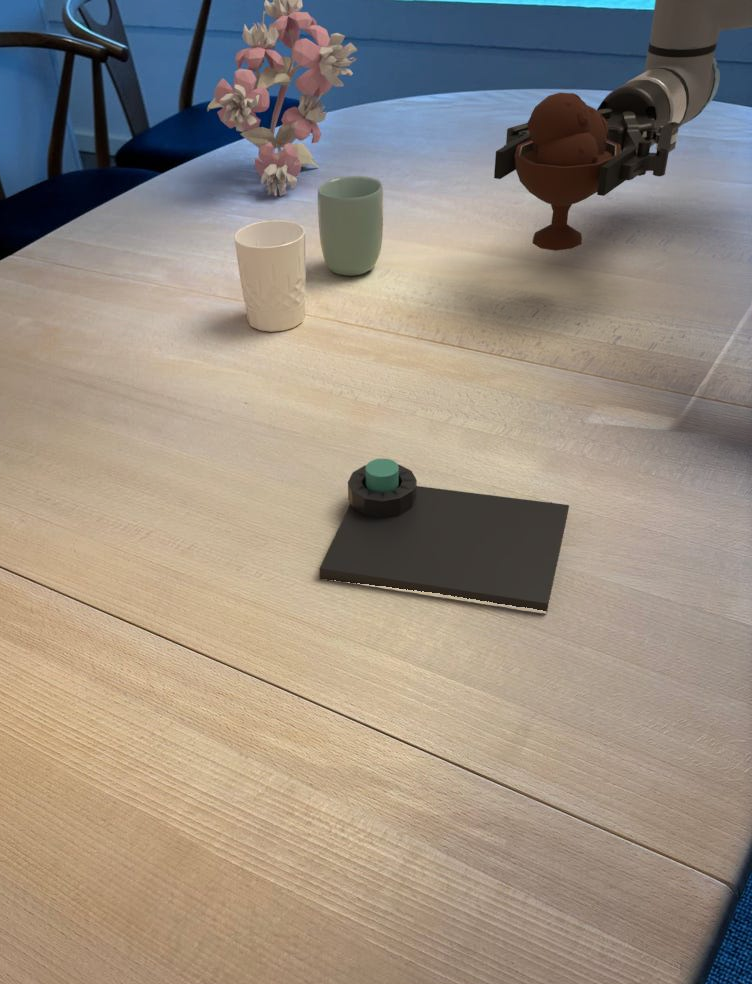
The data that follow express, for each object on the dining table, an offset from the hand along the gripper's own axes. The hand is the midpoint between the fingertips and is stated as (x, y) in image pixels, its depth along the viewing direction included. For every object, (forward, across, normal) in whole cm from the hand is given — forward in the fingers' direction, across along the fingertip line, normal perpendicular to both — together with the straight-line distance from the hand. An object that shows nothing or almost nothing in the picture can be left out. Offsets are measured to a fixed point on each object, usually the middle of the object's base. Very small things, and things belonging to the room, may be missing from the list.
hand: (548, 173), depth 101 cm
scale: (+43, -15, -15) cm, 48 cm away
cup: (+1, +25, -15) cm, 29 cm away
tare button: (+41, -7, -12) cm, 44 cm away
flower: (-21, +53, -15) cm, 59 cm away
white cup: (+17, +24, -15) cm, 33 cm away
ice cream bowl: (-4, 0, -8) cm, 9 cm away
